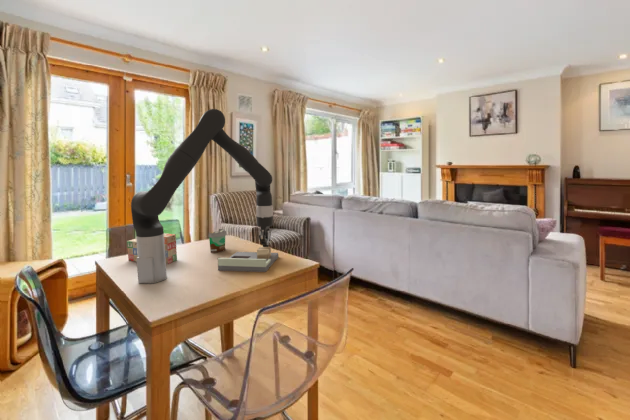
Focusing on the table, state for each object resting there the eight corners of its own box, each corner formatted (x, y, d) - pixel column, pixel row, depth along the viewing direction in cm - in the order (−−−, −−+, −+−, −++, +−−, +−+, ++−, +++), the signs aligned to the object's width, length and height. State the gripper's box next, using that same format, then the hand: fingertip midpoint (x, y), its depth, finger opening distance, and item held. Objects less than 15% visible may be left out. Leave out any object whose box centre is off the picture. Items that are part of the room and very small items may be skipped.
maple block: (268, 258, 144) (268, 249, 144) (257, 258, 145) (256, 249, 144) (271, 255, 149) (270, 247, 149) (260, 255, 150) (259, 246, 149)
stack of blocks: (127, 261, 150) (125, 234, 148) (138, 257, 156) (136, 231, 154) (168, 264, 145) (166, 236, 143) (177, 260, 151) (175, 233, 149)
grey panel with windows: (265, 271, 133) (265, 259, 132) (218, 270, 135) (217, 258, 134) (278, 256, 154) (278, 246, 154) (237, 255, 157) (236, 245, 156)
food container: (221, 253, 161) (220, 233, 159) (209, 253, 162) (208, 233, 160) (231, 247, 173) (230, 228, 171) (220, 247, 174) (219, 228, 172)
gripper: (260, 212, 156) (261, 248, 159) (252, 217, 143) (253, 256, 146) (276, 213, 155) (277, 248, 158) (269, 217, 142) (270, 256, 145)
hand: (265, 252), depth 152 cm, fingers closed
